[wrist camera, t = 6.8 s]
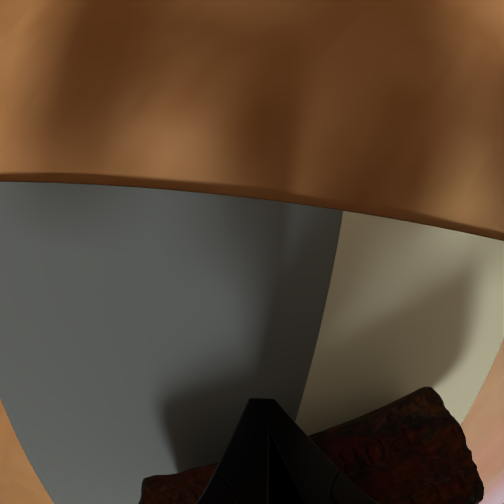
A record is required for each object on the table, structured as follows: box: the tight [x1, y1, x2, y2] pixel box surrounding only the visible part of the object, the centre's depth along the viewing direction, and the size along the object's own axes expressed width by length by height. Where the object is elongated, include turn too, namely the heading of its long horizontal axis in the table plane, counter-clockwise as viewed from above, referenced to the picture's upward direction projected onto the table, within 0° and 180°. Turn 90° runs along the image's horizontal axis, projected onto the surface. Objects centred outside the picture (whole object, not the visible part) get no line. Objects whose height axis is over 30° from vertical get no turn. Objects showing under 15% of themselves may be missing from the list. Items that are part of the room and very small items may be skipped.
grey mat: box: [0, 181, 504, 504], centre depth 11 cm, size 22×20×1 cm
